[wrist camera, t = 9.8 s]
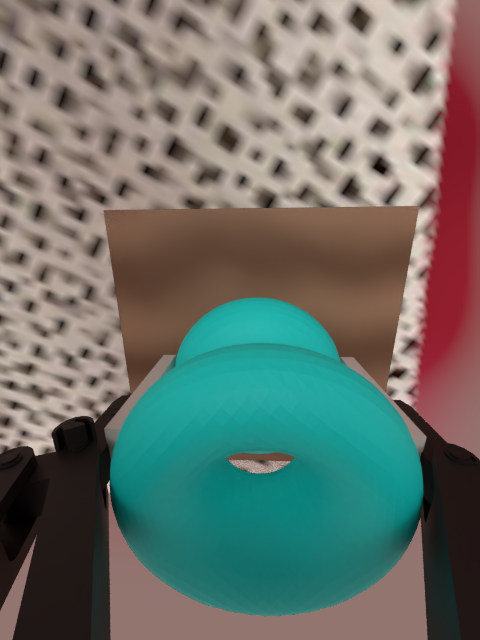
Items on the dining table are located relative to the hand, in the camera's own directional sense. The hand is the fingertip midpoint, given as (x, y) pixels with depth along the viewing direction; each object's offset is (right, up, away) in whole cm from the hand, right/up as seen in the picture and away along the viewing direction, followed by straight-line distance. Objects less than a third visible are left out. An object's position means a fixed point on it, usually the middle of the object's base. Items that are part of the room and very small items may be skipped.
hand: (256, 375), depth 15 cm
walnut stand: (0, +2, +8) cm, 8 cm away
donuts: (0, 0, +1) cm, 1 cm away
